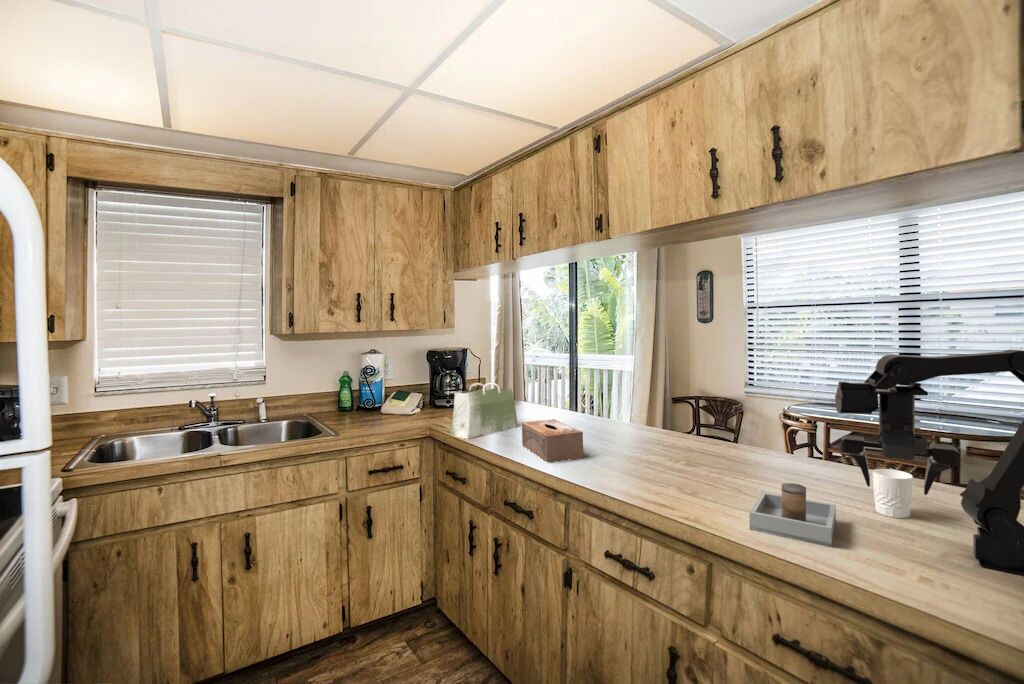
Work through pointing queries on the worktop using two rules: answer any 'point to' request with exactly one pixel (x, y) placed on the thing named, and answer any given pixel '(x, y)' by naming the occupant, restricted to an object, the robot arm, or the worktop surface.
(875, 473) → the white cup
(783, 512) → the spice jar
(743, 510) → the worktop surface
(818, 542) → the bin
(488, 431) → the grocery bag
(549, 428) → the tissue box cover
